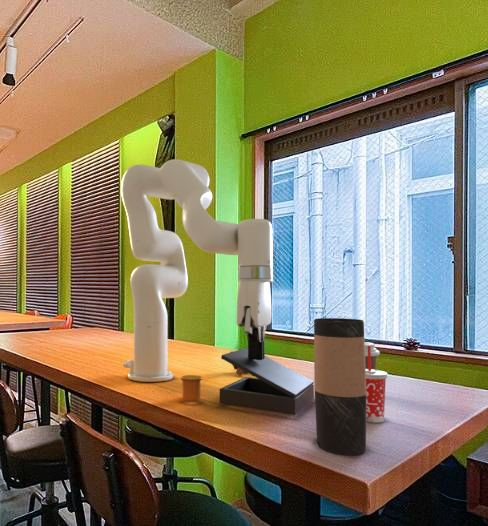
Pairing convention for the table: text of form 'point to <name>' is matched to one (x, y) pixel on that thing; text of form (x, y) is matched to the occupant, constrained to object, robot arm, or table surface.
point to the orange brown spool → (191, 387)
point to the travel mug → (340, 385)
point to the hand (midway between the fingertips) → (256, 358)
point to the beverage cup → (375, 392)
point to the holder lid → (270, 372)
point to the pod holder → (263, 396)
